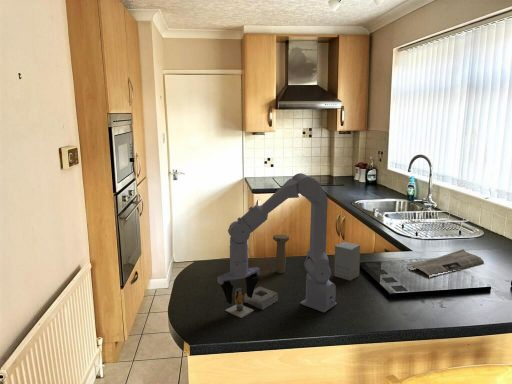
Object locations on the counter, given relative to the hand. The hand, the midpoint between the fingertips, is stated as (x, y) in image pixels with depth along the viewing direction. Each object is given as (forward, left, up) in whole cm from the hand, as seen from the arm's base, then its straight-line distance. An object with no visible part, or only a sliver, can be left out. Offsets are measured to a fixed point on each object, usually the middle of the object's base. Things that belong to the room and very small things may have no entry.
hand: (239, 299), depth 125 cm
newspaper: (-38, -86, -5) cm, 94 cm away
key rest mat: (0, 0, -4) cm, 4 cm away
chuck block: (-1, -9, -4) cm, 10 cm away
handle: (+10, -34, -4) cm, 36 cm away
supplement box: (-12, -48, -4) cm, 50 cm away
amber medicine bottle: (0, 0, -3) cm, 4 cm away
